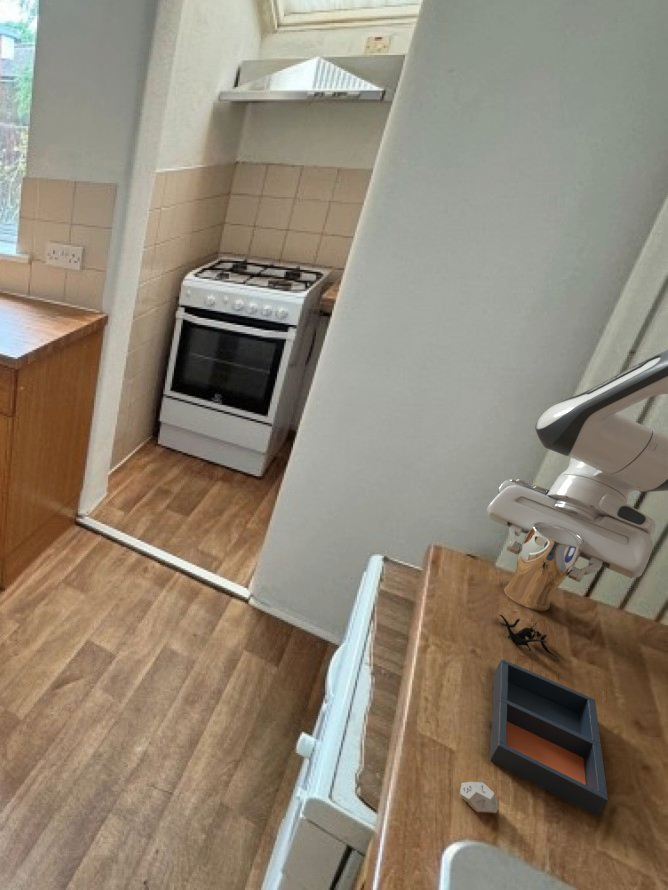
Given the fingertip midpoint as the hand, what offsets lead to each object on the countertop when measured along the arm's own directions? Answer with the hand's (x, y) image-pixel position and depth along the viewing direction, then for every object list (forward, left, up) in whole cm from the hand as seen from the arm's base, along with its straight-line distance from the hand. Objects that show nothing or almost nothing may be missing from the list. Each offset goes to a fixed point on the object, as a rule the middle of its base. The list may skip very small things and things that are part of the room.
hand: (542, 565), depth 106 cm
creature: (+5, +12, -9) cm, 16 cm away
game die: (+23, +48, -9) cm, 54 cm away
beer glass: (0, -1, -9) cm, 9 cm away
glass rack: (+11, +33, -8) cm, 36 cm away
